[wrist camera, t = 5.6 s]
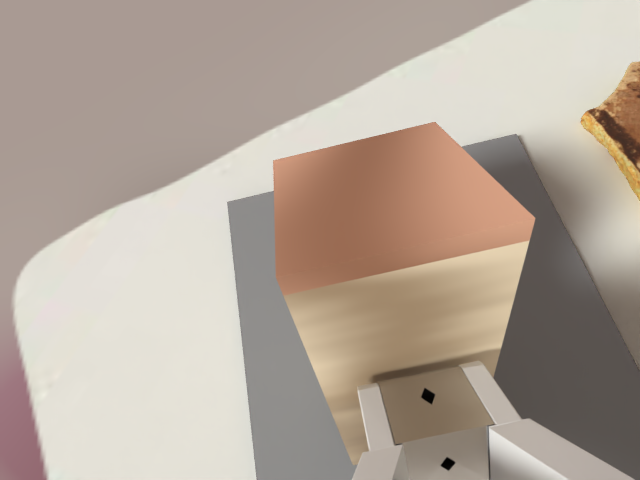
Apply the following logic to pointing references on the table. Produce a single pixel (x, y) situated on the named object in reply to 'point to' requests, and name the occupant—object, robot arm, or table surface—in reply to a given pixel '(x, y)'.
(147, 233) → the table surface
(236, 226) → the rubber mat
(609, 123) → the shard
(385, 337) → the birch block
